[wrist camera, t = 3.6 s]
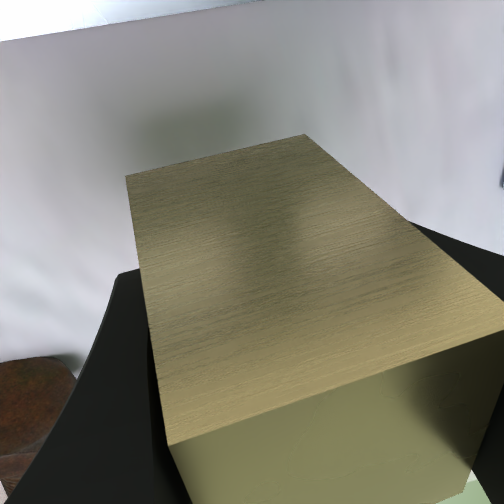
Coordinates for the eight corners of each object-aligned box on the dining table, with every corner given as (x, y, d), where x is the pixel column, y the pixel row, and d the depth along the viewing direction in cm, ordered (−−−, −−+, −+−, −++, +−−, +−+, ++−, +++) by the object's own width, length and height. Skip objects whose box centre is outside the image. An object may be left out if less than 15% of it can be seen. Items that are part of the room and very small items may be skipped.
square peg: (305, 134, 11) (526, 321, 5) (310, 272, 14) (462, 492, 8) (124, 176, 10) (167, 445, 5) (169, 313, 13) (229, 588, 7)
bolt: (60, 492, 30) (6, 339, 21) (128, 512, 29) (101, 362, 20) (2, 592, 25) (-98, 448, 16) (82, 619, 24) (21, 482, 16)
